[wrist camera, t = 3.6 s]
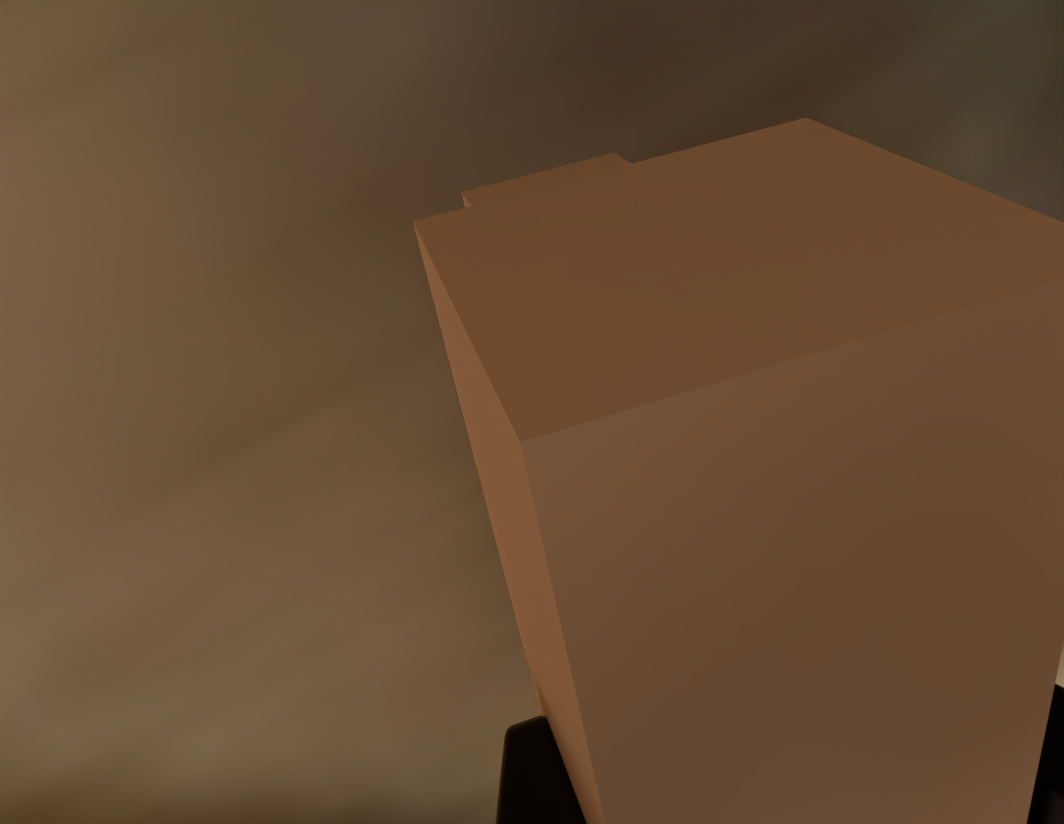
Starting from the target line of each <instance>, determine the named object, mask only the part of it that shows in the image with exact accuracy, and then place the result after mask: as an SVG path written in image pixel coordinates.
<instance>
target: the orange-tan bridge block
mask: <svg viewBox="0 0 1064 824" xmlns="http://www.w3.org/2000/svg"><path fill="white" fill-rule="evenodd" d="M462 196H463V201H464V205H465V208H461V209H457V210H454V211H450V212H446V213H442V214H438V215H435V216H431V217H427V218H423V219H419V220H416V221H413V224H414V228H415V232H416V236H417V240H418V243H419V247H420V251H421V255H422V259H423V263H424V267H425V270H426V274H427V278H428V282H429V286H430V290H431V294H432V297H433V301H434V305H435V309H436V313H437V317H438V321H439V324H440V328H441V332H442V336H443V340H444V344H445V348H446V351H447V355H448V359H449V363H450V367H451V371H452V375H453V378H454V382H455V386H456V390H457V394H458V398H459V402H460V405H461V409H462V413H463V417H464V421H465V425H466V429H467V432H468V436H469V440H470V444H471V448H472V452H473V456H474V459H475V463H476V467H477V471H478V475H479V479H480V483H481V486H482V490H483V494H484V498H485V502H486V506H487V510H488V513H489V517H490V521H491V525H492V529H493V533H494V537H495V540H496V544H497V548H498V552H499V556H500V560H501V564H502V567H503V571H504V575H505V579H506V583H507V587H508V591H509V594H510V598H511V602H512V606H513V610H514V614H515V618H516V621H517V625H518V629H519V633H520V637H521V641H522V645H523V649H524V652H525V656H526V660H527V664H528V668H529V672H530V676H531V679H532V683H533V687H534V691H535V695H536V699H537V703H538V706H539V710H540V714H541V716H546V717H547V719H548V722H549V724H550V727H551V730H552V732H553V735H554V738H555V740H556V743H557V746H558V748H559V751H560V754H561V756H562V759H563V762H564V764H565V767H566V770H567V772H568V775H569V778H570V780H571V783H572V786H573V788H574V791H575V794H576V796H577V799H578V802H579V804H580V807H581V810H582V812H583V815H584V818H585V820H586V823H587V824H1026V823H1027V819H1028V814H1029V809H1030V804H1031V799H1032V794H1033V789H1034V784H1035V779H1036V774H1037V770H1038V765H1039V760H1040V755H1041V750H1042V745H1043V740H1044V735H1045V730H1046V725H1047V721H1048V716H1049V711H1050V706H1051V701H1052V696H1053V691H1054V686H1055V681H1056V676H1057V672H1058V667H1059V662H1060V657H1061V652H1062V647H1063V642H1064V222H1062V221H1059V220H1057V219H1054V218H1052V217H1049V216H1047V215H1045V214H1042V213H1040V212H1037V211H1035V210H1032V209H1030V208H1027V207H1025V206H1022V205H1020V204H1018V203H1015V202H1013V201H1010V200H1008V199H1005V198H1003V197H1000V196H998V195H995V194H993V193H991V192H988V191H986V190H983V189H981V188H978V187H976V186H973V185H971V184H968V183H966V182H964V181H961V180H959V179H956V178H954V177H951V176H949V175H946V174H944V173H941V172H939V171H937V170H934V169H932V168H929V167H927V166H924V165H922V164H919V163H917V162H914V161H912V160H910V159H907V158H905V157H902V156H900V155H897V154H895V153H892V152H890V151H887V150H885V149H883V148H880V147H878V146H875V145H873V144H870V143H868V142H865V141H863V140H860V139H858V138H856V137H853V136H851V135H848V134H846V133H843V132H841V131H838V130H836V129H833V128H831V127H829V126H826V125H824V124H821V123H819V122H816V121H814V120H811V119H809V118H807V117H806V118H802V119H798V120H795V121H791V122H787V123H783V124H779V125H776V126H772V127H768V128H764V129H761V130H757V131H753V132H749V133H745V134H742V135H738V136H734V137H730V138H726V139H723V140H719V141H715V142H711V143H707V144H704V145H700V146H696V147H692V148H689V149H685V150H681V151H677V152H673V153H670V154H666V155H662V156H658V157H654V158H651V159H647V160H643V161H639V162H635V163H632V164H631V163H630V162H628V161H627V160H625V159H624V158H623V157H621V156H620V155H618V154H617V153H616V152H613V153H609V154H605V155H602V156H598V157H594V158H590V159H586V160H583V161H579V162H575V163H571V164H567V165H563V166H560V167H556V168H552V169H548V170H544V171H540V172H537V173H533V174H529V175H525V176H521V177H517V178H514V179H510V180H506V181H502V182H498V183H495V184H491V185H487V186H483V187H479V188H475V189H472V190H468V191H464V192H462Z"/></svg>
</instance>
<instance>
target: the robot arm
mask: <svg viewBox="0 0 1064 824" xmlns="http://www.w3.org/2000/svg"><path fill="white" fill-rule="evenodd" d="M496 824H587V823H586V820H585V818H584V815H583V812H582V810H581V807H580V804H579V802H578V799H577V796H576V794H575V791H574V788H573V786H572V783H571V780H570V778H569V775H568V772H567V770H566V767H565V764H564V762H563V759H562V756H561V754H560V751H559V748H558V746H557V743H556V740H555V738H554V735H553V732H552V730H551V727H550V724H549V722H548V719H547V717H546V716H537V717H534V718H532V719H529V720H526V721H523V722H520V723H517V724H514V725H512V726H510V727H509V728H508V729H507V731H506V733H505V738H504V747H503V757H502V766H501V776H500V786H499V795H498V805H497V814H496ZM1026 824H1064V687H1062V686H1060V685H1058V684H1056V683H1055V686H1054V691H1053V696H1052V701H1051V706H1050V711H1049V716H1048V721H1047V725H1046V730H1045V735H1044V740H1043V745H1042V750H1041V755H1040V760H1039V765H1038V770H1037V774H1036V779H1035V784H1034V789H1033V794H1032V799H1031V804H1030V809H1029V814H1028V819H1027V823H1026Z"/></svg>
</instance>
